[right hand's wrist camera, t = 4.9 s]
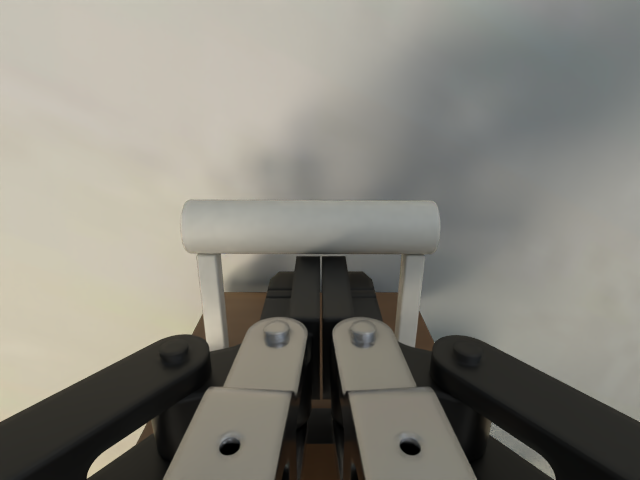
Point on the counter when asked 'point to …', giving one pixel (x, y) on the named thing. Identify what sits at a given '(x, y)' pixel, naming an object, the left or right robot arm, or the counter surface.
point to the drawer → (308, 238)
